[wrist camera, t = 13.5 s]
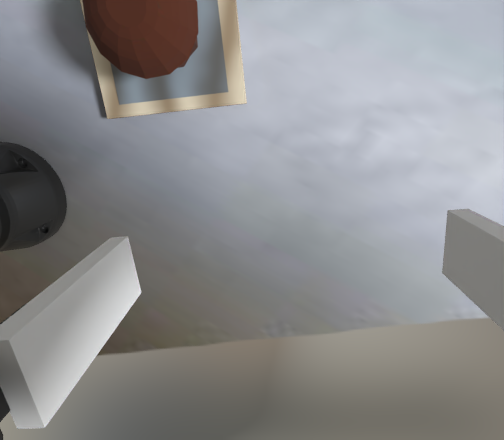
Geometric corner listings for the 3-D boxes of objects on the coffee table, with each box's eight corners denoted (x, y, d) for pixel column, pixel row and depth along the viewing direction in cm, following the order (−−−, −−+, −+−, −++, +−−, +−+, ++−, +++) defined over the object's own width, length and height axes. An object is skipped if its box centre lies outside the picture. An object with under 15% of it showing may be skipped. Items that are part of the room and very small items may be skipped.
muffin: (230, 26, 37) (216, -3, 28) (174, 103, 41) (145, 101, 31) (146, -53, 35) (102, -112, 26) (95, 35, 39) (38, 10, 29)
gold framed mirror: (112, 118, 43) (107, 118, 42) (75, -43, 37) (67, -50, 36) (246, 103, 42) (245, 103, 40) (229, -68, 36) (227, -76, 34)
